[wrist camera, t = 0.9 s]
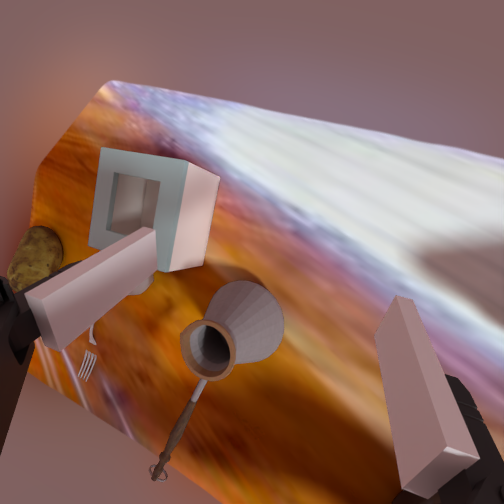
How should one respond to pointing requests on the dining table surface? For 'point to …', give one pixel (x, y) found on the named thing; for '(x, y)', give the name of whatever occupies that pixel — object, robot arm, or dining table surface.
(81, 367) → the fork
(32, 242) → the potato
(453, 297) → the dining table surface
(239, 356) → the coffee pot
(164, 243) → the drop box
